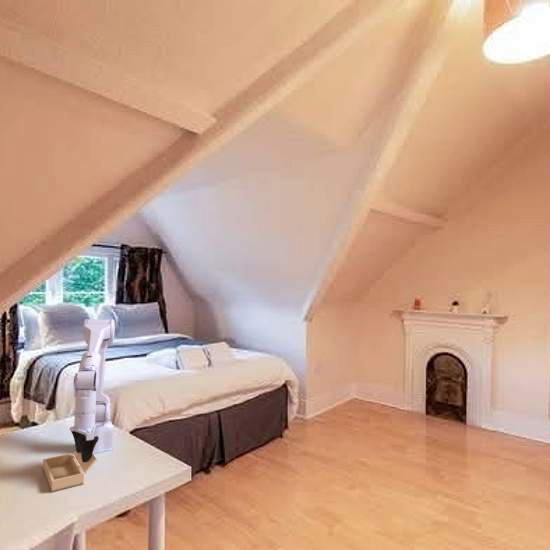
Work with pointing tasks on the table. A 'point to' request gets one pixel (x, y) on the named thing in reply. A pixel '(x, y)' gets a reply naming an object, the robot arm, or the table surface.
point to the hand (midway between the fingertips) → (83, 456)
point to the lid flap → (85, 465)
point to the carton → (62, 472)
